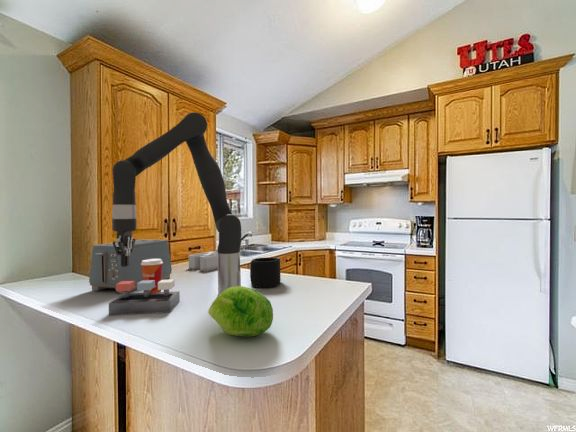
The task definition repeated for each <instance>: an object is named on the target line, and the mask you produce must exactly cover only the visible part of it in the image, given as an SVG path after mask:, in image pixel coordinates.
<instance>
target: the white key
mask: <svg viewBox="0 0 576 432" xmlns="http://www.w3.org/2000/svg"><path fill="white" fill-rule="evenodd" d="M175 286H176V285H175V279H173V278H172V279H171V278H170V279H168V280H161V281H160V282H158V290H161V291H163V292H164V296H169V292H170V290H172V289H173V288H174V287H175Z"/></svg>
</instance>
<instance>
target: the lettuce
mask: <svg viewBox="0 0 576 432" xmlns="http://www.w3.org/2000/svg"><path fill="white" fill-rule="evenodd" d="M207 313H208V316H210V318H212V319H213V320H214V321H215V322H216V323H217V324H218V325H219V326H220V328H221V329H222V330H223V331H224V332H225V333H226V334H227V335H229V336H230V335H231V336H237V337H246V338H250V337H256V336H259V335H262V334H263V333H265V332H266V331H268V330H269V329H270V328H271V327H272V324H273V320H274V309H273V305H272V303H271V301H270V300H269V299H268V298H267V296H265V295H264V294H263V293H262V292H260V291H258V290H255V289H253V288H250V287H247V286H243V285H241V286H236V287H230V288H228V289H226V290H225V291H223V292H222V293H221V294H220V295H219V294H218V296H216V298H215V299H214V300H213V301H212V303H211V304H210V307H209V308H208V311H207Z"/></svg>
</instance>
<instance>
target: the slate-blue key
mask: <svg viewBox="0 0 576 432" xmlns="http://www.w3.org/2000/svg"><path fill="white" fill-rule="evenodd" d="M154 287H155V280H143V281H140V282H139V283H137V290H136V291H139V292H140V291H143V293H144V297H148V296H149V290H151V289H153V288H154Z"/></svg>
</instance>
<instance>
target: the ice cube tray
mask: <svg viewBox="0 0 576 432" xmlns="http://www.w3.org/2000/svg"><path fill="white" fill-rule="evenodd" d="M187 258H188V269H189V270H200V271H202V272H203V271H204V272H209V271H213V270H218V250H213V251H206V252H199V253H198V252H197V253H193V254H188V255H187Z"/></svg>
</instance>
